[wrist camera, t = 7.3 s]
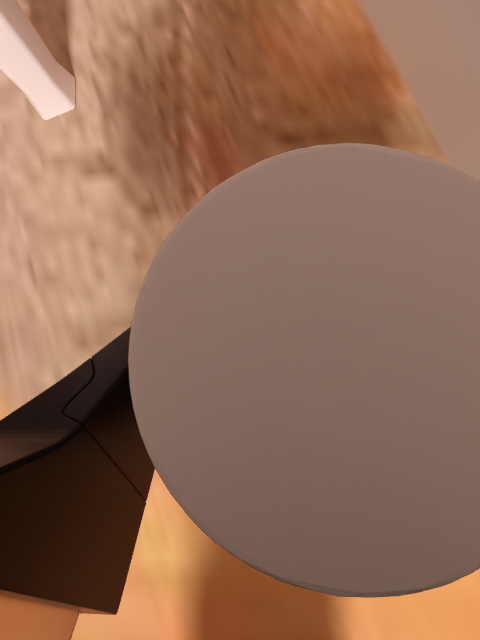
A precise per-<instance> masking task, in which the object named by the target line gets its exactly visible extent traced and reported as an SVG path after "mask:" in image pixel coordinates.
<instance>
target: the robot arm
mask: <svg viewBox="0 0 480 640" xmlns="http://www.w3.org/2000/svg"><path fill="white" fill-rule="evenodd" d="M130 332H131V327H130V328H129V329H127V330H126V331H125V332H123V333H122V334H121V335H119V336H118V337H117V338H116V339H114V340H113V341H112V342H110V343H109V344H108V345H106V346H105V347H104V348H103V349H101V350H100V351H99V352H97V353H96V354H95V355H93V356H92V358H89V359H88V360H87V361H86V362H84V363H83V364H82V365H80V366H79V367H78V368H76V369H75V370H74V371H72V372H71V373H70V374H68V375H67V376H66V377H64V378H63V379H61V380H60V381H58V382H57V383H56V384H54V385H53V386H51V387H50V388H48V389H47V390H45V391H44V392H42V393H41V394H39V395H38V396H36V397H35V398H33V399H32V400H30V401H29V402H27V403H26V404H24V405H23V406H21V407H20V408H18V409H17V410H15V411H14V412H12V413H11V414H9V415H8V416H6V417H5V418H3V419H2V420H0V640H71V637H72V634H73V631H74V628H75V625H76V622H77V619H78V616H79V613H87V614H108V615H116V614H117V612H118V608H119V605H120V601H121V598H122V594H123V590H124V586H125V582H126V578H127V575H128V571H129V567H130V563H131V559H132V555H133V551H134V548H135V544H136V540H137V536H138V532H139V528H140V524H141V520H142V517H143V513H144V509H145V505H146V500H147V497H148V493H149V489H150V485H151V481H152V477H153V474H154V470H155V467H154V465H153V463H152V461H151V458H150V456H149V454H148V452H147V449H146V447H145V444H144V442H143V439H142V437H141V434H140V431H139V428H138V424H137V420H136V417H135V413H134V409H133V403H132V397H131V392H130V383H129V366H128V356H129V340H130Z"/></svg>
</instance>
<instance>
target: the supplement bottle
mask: <svg viewBox="0 0 480 640" xmlns="http://www.w3.org/2000/svg"><path fill="white" fill-rule="evenodd" d="M128 366H129V383H130V392H131V397H132V403H133V409H134V413H135V417H136V420H137V424H138V428H139V431H140V434H141V437H142V439H143V442H144V444H145V447H146V449H147V452H148V454H149V456H150V458H151V461H152V463H153V465H154V467H155V469H156V471H157V472H158V474H159V476H160V477H161V479H162V481H163V482H164V484H165V485H166V487H167V489H168V490H169V492H170V494H171V495H172V496H173V497H174V499H175V500H176V501H177V502H178V504H179V505H180V506H181V507H182V509H183V510H184V511H185V512H186V513H187V515H188V516H189V517H190V518H191V519H192V520H193V521H194V523H195V524H196V525H197V526H198V527H199V528H200V529H201V530H202V531H203V532H204V533H205V534H206V535H208V536H209V537H210V538H211V539H212V540H213V541H214V542H215V543H217V544H218V545H219V546H221V547H222V548H224V549H225V550H227V551H228V552H229V553H231V554H232V555H234V556H235V557H237V558H238V559H240V560H242V561H243V562H245V563H246V564H248V565H249V566H251V567H252V568H254V569H256V570H258V571H260V572H263V573H265V574H267V575H269V576H271V577H273V578H275V579H277V580H279V581H281V582H284V583H288V584H291V585H295V586H298V587H302V588H305V589H309V590H313V591H318V592H322V593H326V594H330V595H334V596H341V597H389V596H401V595H407V594H412V593H418V592H422V591H425V590H429V589H433V588H437V587H441V586H444V585H447V584H449V583H452V582H454V581H456V580H458V579H460V578H462V577H464V576H467V575H469V574H471V573H473V572H474V571H476V570H478V569H479V568H480V181H479V180H477V179H475V178H474V177H472V176H470V175H468V174H466V173H464V172H462V171H460V170H458V169H456V168H455V167H453V166H451V165H449V164H447V163H444V162H441V161H438V160H436V159H433V158H430V157H427V156H424V155H420V154H417V153H413V152H410V151H406V150H402V149H396V148H391V147H385V146H380V145H375V144H360V143H340V144H326V145H315V146H311V147H307V148H300V149H296V150H292V151H288V152H284V153H281V154H278V155H276V156H273V157H270V158H267V159H264V160H262V161H260V162H258V163H256V164H254V165H252V166H250V167H248V168H246V169H244V170H242V171H240V172H238V173H237V174H235V175H233V176H231V177H230V178H228V179H227V180H225V181H224V182H222V183H221V184H219V185H218V186H216V187H215V188H213V189H212V190H211V191H209V192H208V193H207V194H206V195H205V196H204V197H203V198H202V199H201V200H200V201H198V202H197V203H196V204H195V205H194V206H193V207H192V208H191V209H190V210H189V211H188V212H187V213H186V214H185V215H184V216H183V217H182V218H181V220H180V221H179V222H178V223H177V225H176V226H175V227H174V228H173V230H172V231H171V232H170V234H169V235H168V236H167V238H166V239H165V241H164V242H163V244H162V245H161V247H160V249H159V251H158V252H157V254H156V256H155V258H154V260H153V262H152V264H151V266H150V268H149V270H148V272H147V274H146V277H145V279H144V282H143V284H142V287H141V289H140V292H139V295H138V299H137V302H136V306H135V312H134V318H133V321H132V325H131V332H130V340H129V356H128Z"/></svg>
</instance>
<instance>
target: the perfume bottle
mask: <svg viewBox="0 0 480 640" xmlns="http://www.w3.org/2000/svg"><path fill="white" fill-rule="evenodd" d="M0 70H2V71H3V72H4V73H5V74H6V75H7V76H8V77H9V78H10V79H11V80H12V81H13V82H14V83H15V84H16V85H17V86H18V87H19V88H20V89H21V90H22V91H23V92H24V94H25V96H26V97H27V99H28V100H29V101H30V103H31V104H32V105H33V106H34V108H35V109H36V110H37V112H38V113H39V114H40V115H41V117H42V118H43V119H44V120H48V119H51V118H53V117H55V116H58V115H60V114H63V113H65V112H67V111H70V110H72V109H74V108H75V78H74V77H73V76H72V75H71V74H70V73H69V72H68V71H67V70H66V69H65V68H64V67H62V66H61V65H60V64H59V63H58V62H57V61H56V60H55V59H54V57H53V56H52V54H51V53H50V51H49V50H48V48H47V46H46V45H45V43H44V42H43V40H42V39H41V37H40V35H39V34H38V32H37V31H36V29H35V28H34V26H33V25H32V23H31V21H30V20H29V18H28V17H27V15H26V14H25V12H24V11H23V9H22V7H21V6H20V4H19V3H18V1H17V0H0Z"/></svg>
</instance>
